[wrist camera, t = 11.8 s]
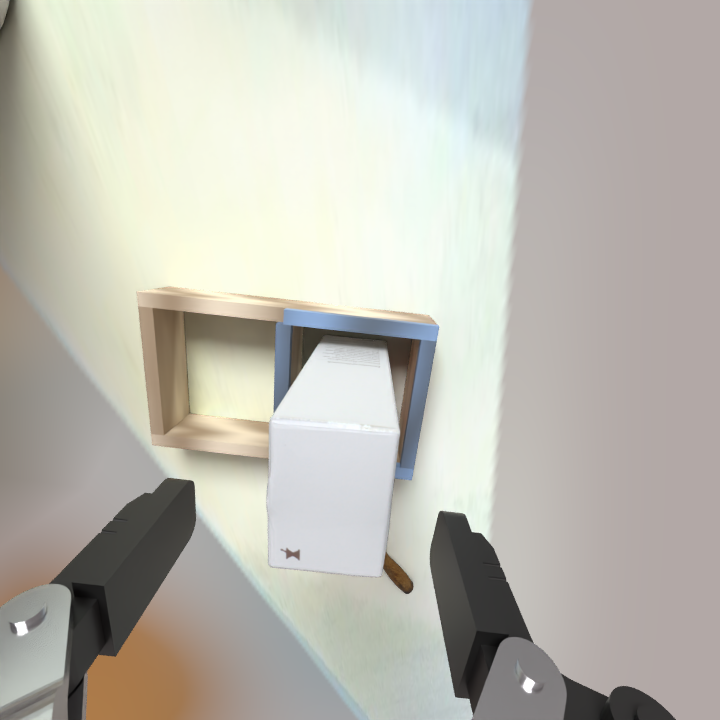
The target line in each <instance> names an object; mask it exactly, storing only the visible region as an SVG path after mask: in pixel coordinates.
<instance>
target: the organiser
mask: <svg viewBox="0 0 720 720" xmlns="http://www.w3.org/2000/svg"><path fill="white" fill-rule="evenodd" d="M137 300H138V309H139V319H140V329H141V339H142V349H143V359H144V368H145V378H146V388H147V398H148V408H149V418H150V427H151V437H152V445H155V446H164V447H172V448H181V449H190V450H198V451H207V452H216V453H224V454H233V455H242V456H250V457H259V458H267V459H269V423H267V422H259V421H250V420H241V419H232V418H224V417H215V416H206V415H197V414H190V412H189V395H188V379H187V362H186V345H185V329H184V312H183V311H186V312H195V313H204V314H213V315H222V316H231V317H240V318H249V319H258V320H267V321H276V322H277V323H276V339H275V378H274V412H275V411H276V409H277V408H278V406H279V405H280V403H281V401H282V400H283V398H284V397H285V395H286V393H287V392H288V390H289V389H290V387H291V386H292V384H293V383H294V381H295V380H296V378H297V376H298V375H299V373H300V372H301V368H302V348H303V329H304V327H311V328H320V329H329V330H338V331H347V332H356V333H365V334H374V335H383V336H392V337H401V338H410V339H412V344H411V350H410V356H409V363H408V369H407V376H406V382H405V389H404V395H403V402H402V408H401V414H400V421H399V428H400V438H399V446H398V454H397V462H396V470H395V478H396V479H405V480H412V476H413V470H414V465H415V459H416V453H417V448H418V442H419V437H420V431H421V425H422V420H423V414H424V409H425V403H426V398H427V392H428V386H429V381H430V375H431V370H432V364H433V358H434V353H435V347H436V342H437V336H438V331H439V326H438V325H437V324H436V323H435V321H434V320H433V319H432V318H431V317H430V316H429V315H423V314H413V313H404V312H395V311H386V310H377V309H368V308H359V307H350V306H341V305H332V304H322V303H313V302H304V301H295V300H286V299H277V298H268V297H259V296H250V295H241V294H232V293H222V292H213V291H204V290H195V289H186V288H177V287H164V288H157V289H151V290H144V291H137Z"/></svg>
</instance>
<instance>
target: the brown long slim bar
mask: <svg viewBox="0 0 720 720" xmlns="http://www.w3.org/2000/svg"><path fill="white" fill-rule="evenodd" d="M383 569H384V570H385V572H386V573H387V575H388V576H389V577H390V579H391V580H392V581H393V582H394V583H395V584H396V585H397V587H398V588H400V589H401V590H402V591H403V592H404V593H406V594H409V593H410V592H411V591H412V590H413V583H412V581H411V580H410V578H409V577H408V575H407V574H406V573H405V572H404V571H403V570H402V569H401V567H400V566H399V565H398V564H397V563H396V562H394V561H393V560H392V559H391V558H390V557H389V556H388V554H387V553H385V559H384V565H383Z"/></svg>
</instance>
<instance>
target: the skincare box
mask: <svg viewBox="0 0 720 720" xmlns="http://www.w3.org/2000/svg"><path fill="white" fill-rule="evenodd" d="M399 438H400V428H399V421H398V415H397V408H396V402H395V395H394V389H393V382H392V375H391V369H390V363H389V356H388V350H387V344H386V341H383V340H370V339H360V338H351V337H341V336H331V335H324V336H323V337H322V339H321V340H320V342H319V344H318V345H317V347H316V348H315V350H314V351H313V353H312V355H311V356H310V358H309V359H308V361H307V362H306V364H305V365H304V367H303V369H302V370H301V372H300V373H299V375H298V376H297V378H296V380H295V381H294V383H293V384H292V386H291V387H290V389H289V390H288V392H287V393H286V395H285V397H284V398H283V400H282V401H281V403H280V405H279V406H278V408H277V409H276V411H275V412H274V414H273V415H272V417H271V418H270V421H269V473H268V486H267V512H268V564H269V566H270V567H273V568H282V569H293V570H303V571H313V572H322V573H331V574H341V575H351V576H363V577H381V575H382V572H383V565H384V559H385V553H386V547H387V541H388V533H389V525H390V514H391V504H392V495H393V487H394V479H395V470H396V462H397V454H398V446H399Z"/></svg>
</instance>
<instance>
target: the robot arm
mask: <svg viewBox="0 0 720 720" xmlns="http://www.w3.org/2000/svg"><path fill="white" fill-rule="evenodd" d="M8 6H9V0H0V29H1V27H2V25H3V23H4V20H5V16H6V13H7V9H8ZM195 522H196V507H195V486H194V482H193V481H191V480H182V479H174V478H167V479H165V480H164V481H163V482H162V483H161V484H160V486H159V487H158V488H157V489H156V490H155V491H154V492H153V493H152V494H151V493H144V494H143V495H141V496H140V497H138V498H136V499H135V500H133V501H131V502H130V503H128V504H127V505H126V506H125V507H124V508H123V509H122V510H121V511H120V512H119V513H118V514H117V515H116V516H115V517H114V519H113V521H110V522H109V523H108V524H107V525H106V527H104V528H103V529H102V532H101V533H99V534H98V535H97V536H96V537H95V538H94V539H93V540H92V541H91V542H90V543H89V544H88V545H87V546H86V547H85V548H84V549H83V550H82V551H81V552H80V553H79V554H78V555H77V556H76V557H75V558H74V559H73V560H72V561H71V562H70V563H69V564H68V565H67V566H66V567H65V568H64V569H63V570H62V572H61V573H60V574H59V575H58V576H57V577H56V578H55V579H54V580H53V581H52V582H51V583H50V584H47V585H42V586H38V587H35V588H32V589H30V590H27V591H25V592H23V593H21V594H19V595H17V596H16V597H14V598H12V599H11V600H9V601H8V602H7V603H5V604H4V605H3V606H2V607H0V720H86V703H87V702H86V701H87V678H88V677H87V670H88V669H89V667H90V666H91V665H92V663H93V662H94V660H95V659H96V657H97V656H98V655H107V656H116V655H117V653H118V652H119V650H120V649H121V647H122V645H123V644H124V642H125V641H126V639H127V638H128V636H129V635H130V633H131V631H132V630H133V628H134V627H135V625H136V623H137V622H138V620H139V619H140V617H141V616H142V614H143V612H144V611H145V609H146V608H147V606H148V605H149V603H150V601H151V600H152V598H153V597H154V595H155V593H156V592H157V590H158V589H159V587H160V585H161V584H162V582H163V581H164V579H165V578H166V576H167V574H168V573H169V571H170V570H171V568H172V567H173V565H174V563H175V562H176V560H177V559H178V557H179V555H180V554H181V552H182V551H183V549H184V548H185V546H186V544H187V543H188V541H189V540H190V538H191V536H192V533H193V530H194V527H195ZM430 567H431V573H432V578H433V584H434V589H435V594H436V599H437V604H438V610H439V615H440V620H441V625H442V630H443V636H444V641H445V646H446V651H447V656H448V662H449V667H450V672H451V677H452V683H453V688H454V693H455V697H458V698H467V699H470V703H471V708H472V712H473V718H472V720H676V719H675V718H673V716H672V715H671V714H670V713H669V712H668V711H667V710H666V709H665V708H664V707H663V706H662V705H661V704H659V703H658V702H657V701H656V700H654V699H653V698H651V697H650V696H648V695H647V694H645V693H643V692H641V691H640V690H637V689H635V688H632V687H627V686H620V687H617V688H615V689H614V690H613V691H612V692H611V695H610V696H609V697H607V696H605V695H602V694H600V693H598V692H596V691H594V690H592V689H590V688H588V687H585V686H583V685H581V684H579V683H577V682H575V681H573V680H571V679H569V678H567V677H566V676H564V675H563V674H561V673H560V671H559V669H558V668H557V666H556V665H555V663H554V662H553V660H552V659H551V658H550V657H549V656H548V655H547V654H546V653H545V652H544V651H543V650H542V649H541V648H539V647H538V646H537V645H535V644H534V643H533V641H532V639H531V636H530V634H529V632H528V629H527V627H526V625H525V622H524V620H523V618H522V615H521V613H520V610H519V608H518V606H517V603H516V601H515V598H514V596H513V594H512V591H511V589H510V587H509V584H508V582H506V577H505V575H504V572H503V570H502V568H501V567H500V563H499V561H498V558H497V555H496V553H495V551H494V548H493V547H492V546H491V545H490V543H489V542H488V541H487V540H486V539H485V537H484V536H483V535H482V534H481V533H474V532H471V529H470V526H469V523H468V521H467V518H466V516H465V515H464V514H463V513H455V512H446V511H440V512H439V514H438V518H437V522H436V527H435V531H434V535H433V539H432V544H431V549H430Z"/></svg>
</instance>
